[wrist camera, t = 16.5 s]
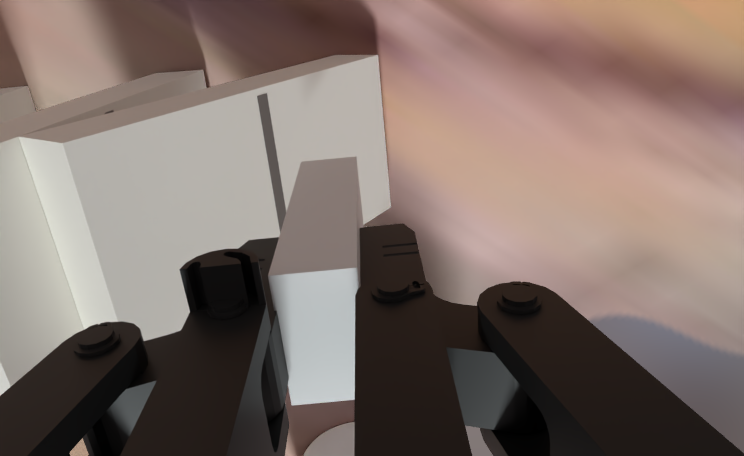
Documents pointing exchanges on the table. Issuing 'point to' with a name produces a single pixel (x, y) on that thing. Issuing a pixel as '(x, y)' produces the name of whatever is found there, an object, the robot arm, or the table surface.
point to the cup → (334, 442)
